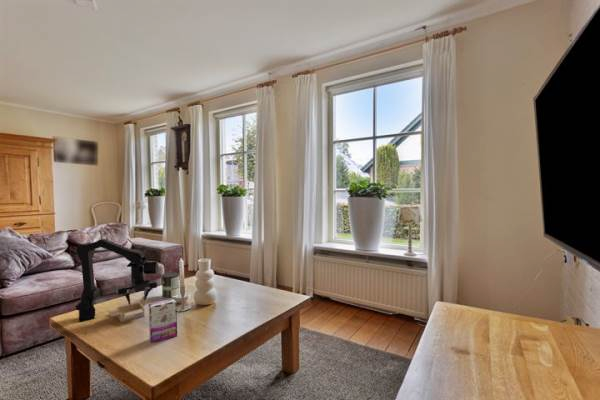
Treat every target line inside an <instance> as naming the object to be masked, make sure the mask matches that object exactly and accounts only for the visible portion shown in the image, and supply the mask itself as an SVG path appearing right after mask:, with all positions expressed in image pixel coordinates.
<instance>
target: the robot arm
mask: <svg viewBox="0 0 600 400" xmlns="http://www.w3.org/2000/svg"><path fill="white" fill-rule="evenodd" d="M100 248H101V249H104V250H107V251H109V252H112V253H114V254H117V255H120V256H123V258H125V260H126V261H129V263H128V264H127V265H126V267H127V268H130V286H126V285H122V286H116V289H115V292H116V294H117V295H118V296H119V295H122V296H124V297H125V298H126V301H128V305H130V300H131V297H130V292H129V291H134V292H135V293H139V292H143V296H144V301H145V299H147V297H148V295H149V293H150V292H151V291H153V289H156V288H157V287H158V283H157V282H156V281H155V280H149V279H147V280H144V274H145V275H157V274H158V273H159V271H160V266H159V263H158V261H157V260H153V261H149V259H148V258H147V257H146V256H145V253H144V251H142V250H141V249H137V248H136V249H135V248H129V247H125V246H124V245H120V244H119V243H116V242H113V241H110V240H108V239H106V238H102V239H98V240H97V241H94V242H85V243H82V244H79V245H77V247H76V248H75V252H76V255H77V258H78V260H79V261H80V263H81V274H82V286H83V289H82V292H81V296H80V301H79V302H78V303H77V304H76V305H75V309H76V310H77V311H78V317H77V318H78V322H79V323H82V322H86V321H89V320H93V319H96V308H95V305H94V304H96V302H97V301H98V300H99V298H100V296H101V292H100V287H96V285H95V284H96V283H95V275H94V265H93V258H94V255H95V251H96V249H100Z"/></svg>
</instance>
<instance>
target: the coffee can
mask: <svg viewBox="0 0 600 400" xmlns="http://www.w3.org/2000/svg"><path fill="white" fill-rule="evenodd" d="M176 295H179V296H180V273H179V272H173V271H172V272H166V273H164V274H162V275H161V298H162V299H163V300H170V299H173V296H176Z"/></svg>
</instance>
